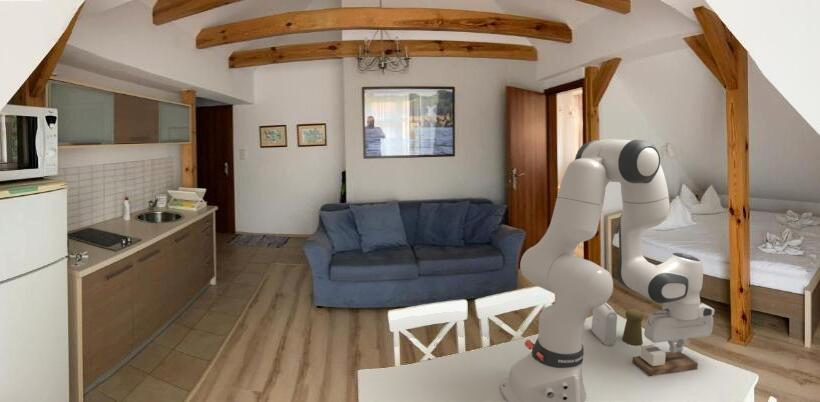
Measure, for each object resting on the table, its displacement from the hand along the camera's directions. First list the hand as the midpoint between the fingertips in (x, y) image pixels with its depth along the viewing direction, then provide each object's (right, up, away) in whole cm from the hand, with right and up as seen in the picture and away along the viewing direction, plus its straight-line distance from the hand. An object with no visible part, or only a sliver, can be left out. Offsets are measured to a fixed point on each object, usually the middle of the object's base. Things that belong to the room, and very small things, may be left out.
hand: (675, 351), depth 120 cm
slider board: (-3, -5, 0) cm, 6 cm away
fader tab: (-8, -2, -1) cm, 8 cm away
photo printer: (-14, -2, +17) cm, 22 cm away
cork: (-5, -2, +15) cm, 16 cm away
